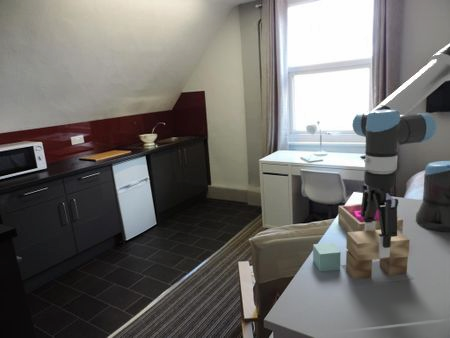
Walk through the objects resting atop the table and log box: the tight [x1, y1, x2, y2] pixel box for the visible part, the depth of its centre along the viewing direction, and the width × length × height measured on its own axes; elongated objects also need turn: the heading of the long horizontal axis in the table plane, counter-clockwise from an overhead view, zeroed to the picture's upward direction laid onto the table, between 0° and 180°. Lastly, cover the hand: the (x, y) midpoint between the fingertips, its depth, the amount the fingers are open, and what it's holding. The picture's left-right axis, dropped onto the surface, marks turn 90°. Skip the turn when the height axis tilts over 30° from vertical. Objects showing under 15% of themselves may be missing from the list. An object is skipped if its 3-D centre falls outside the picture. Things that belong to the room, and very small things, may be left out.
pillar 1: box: [345, 250, 373, 279], centre depth 90 cm, size 5×5×6 cm
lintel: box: [345, 230, 411, 261], centre depth 89 cm, size 14×7×5 cm, turn 93°
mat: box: [340, 260, 415, 286], centre depth 91 cm, size 16×10×1 cm, turn 93°
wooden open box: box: [337, 203, 404, 234], centre depth 116 cm, size 15×17×7 cm
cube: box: [312, 242, 341, 272], centre depth 96 cm, size 6×6×6 cm
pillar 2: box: [379, 256, 409, 276], centre depth 91 cm, size 5×5×6 cm
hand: (376, 249), depth 90 cm, fingers closed on lintel, 7 cm apart
